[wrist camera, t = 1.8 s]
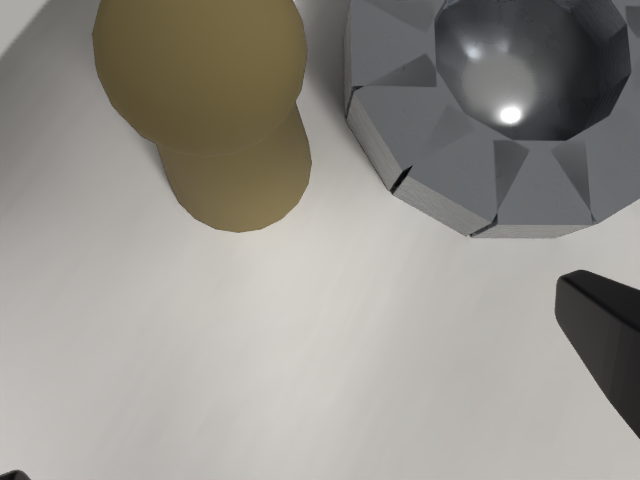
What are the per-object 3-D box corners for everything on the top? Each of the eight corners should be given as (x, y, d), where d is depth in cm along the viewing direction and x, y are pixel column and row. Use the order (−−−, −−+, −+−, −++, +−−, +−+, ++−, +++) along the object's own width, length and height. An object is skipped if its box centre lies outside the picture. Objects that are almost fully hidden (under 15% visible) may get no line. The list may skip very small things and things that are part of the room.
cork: (330, 207, 23) (363, 100, 12) (189, 251, 22) (90, 180, 11) (286, 76, 24) (280, -136, 13) (149, 115, 23) (20, -71, 12)
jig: (708, 30, 25) (763, -10, 22) (577, 299, 23) (620, 295, 20) (437, -116, 25) (456, -174, 22) (284, 133, 23) (283, 105, 20)
